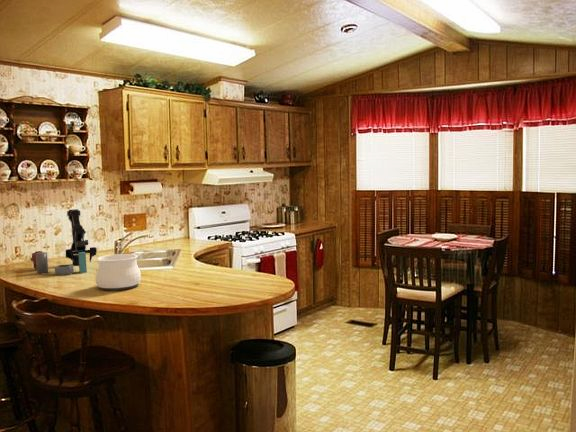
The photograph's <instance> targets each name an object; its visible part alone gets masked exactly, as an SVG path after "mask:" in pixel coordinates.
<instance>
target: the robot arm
mask: <svg viewBox="0 0 576 432" xmlns="http://www.w3.org/2000/svg"><path fill="white" fill-rule="evenodd" d="M66 217H68V220H69V222H70V223H71V235H72V243H71V246H70V248H68V249H65V258H67V259H70V260H71V261H72V263H71V264H73V266H79V256H78V252H85V253H86V254H89V263H92V259H93V257H94V256H96V255H97V251H98V249H97V247H96V246H91V247H89V249H87V246H89V239H85V234H86V230H85V229H84V226H83V225H82V224H81V222H80V217H81V210H79V209H68V210H67V211H66Z"/></svg>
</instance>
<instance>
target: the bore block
mask: <svg viewBox="0 0 576 432" xmlns="http://www.w3.org/2000/svg"><path fill="white" fill-rule="evenodd" d="M74 270H75V268H74V265H73V263H70V264H58V265H56V266H55V267H54V276H67V275H71V274H74V272H75V271H74Z"/></svg>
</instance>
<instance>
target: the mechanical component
mask: <svg viewBox="0 0 576 432" xmlns="http://www.w3.org/2000/svg"><path fill="white" fill-rule="evenodd" d="M42 252H43V251H42V250H36V251H35V252H32V253H31V258H30V261H31V262H33V269H34V271H36V270H37V264H36V253H42Z"/></svg>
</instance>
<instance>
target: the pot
mask: <svg viewBox="0 0 576 432" xmlns="http://www.w3.org/2000/svg"><path fill="white" fill-rule="evenodd" d="M141 255H142V254H141V253H140V252H133V253H120V254H119V253H118V254H117V253H116V254H107V255H102V256H98V257H97V258H96V259H93V258H92V259H93V260H92V261H93V262H97V263H98V268H97V271H96V274H95V284H96V286H97V287H98V288H99V289H100V290H102V291H107V292H108V291H112V292H113V291H116V292H117V291H125V289H126V290H129V289H133V288H135V287H137V286H139V285H140V283H141V280H142V274H141V270H140V268H139V266H138V262H137V258H138V257H139V256H141Z"/></svg>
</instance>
